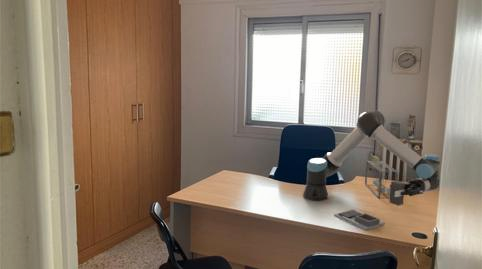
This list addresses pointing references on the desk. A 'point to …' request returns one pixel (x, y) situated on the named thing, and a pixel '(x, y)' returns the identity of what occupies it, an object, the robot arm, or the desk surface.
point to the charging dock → (359, 219)
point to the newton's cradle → (375, 181)
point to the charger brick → (394, 187)
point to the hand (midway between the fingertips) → (390, 192)
